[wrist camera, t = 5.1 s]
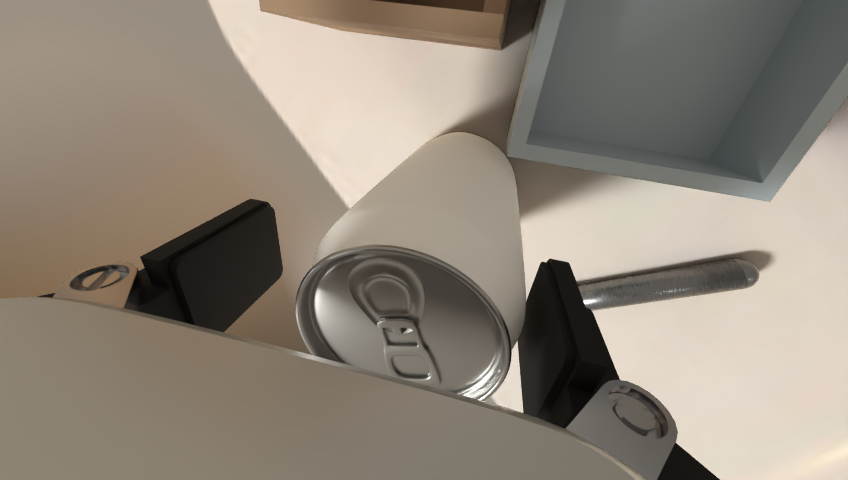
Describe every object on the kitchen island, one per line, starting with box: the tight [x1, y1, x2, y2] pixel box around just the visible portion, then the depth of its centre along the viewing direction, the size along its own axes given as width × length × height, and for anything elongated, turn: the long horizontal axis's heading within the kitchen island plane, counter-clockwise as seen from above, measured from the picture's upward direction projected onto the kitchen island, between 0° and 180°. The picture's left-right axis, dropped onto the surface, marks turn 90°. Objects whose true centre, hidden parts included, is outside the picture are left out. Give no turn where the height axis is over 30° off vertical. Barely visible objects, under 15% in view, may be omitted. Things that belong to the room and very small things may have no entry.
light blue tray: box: [507, 0, 848, 202], centre depth 11 cm, size 10×10×4 cm
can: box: [295, 132, 526, 401], centre depth 13 cm, size 6×6×12 cm
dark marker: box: [578, 258, 759, 311], centre depth 18 cm, size 12×2×2 cm, turn 113°
